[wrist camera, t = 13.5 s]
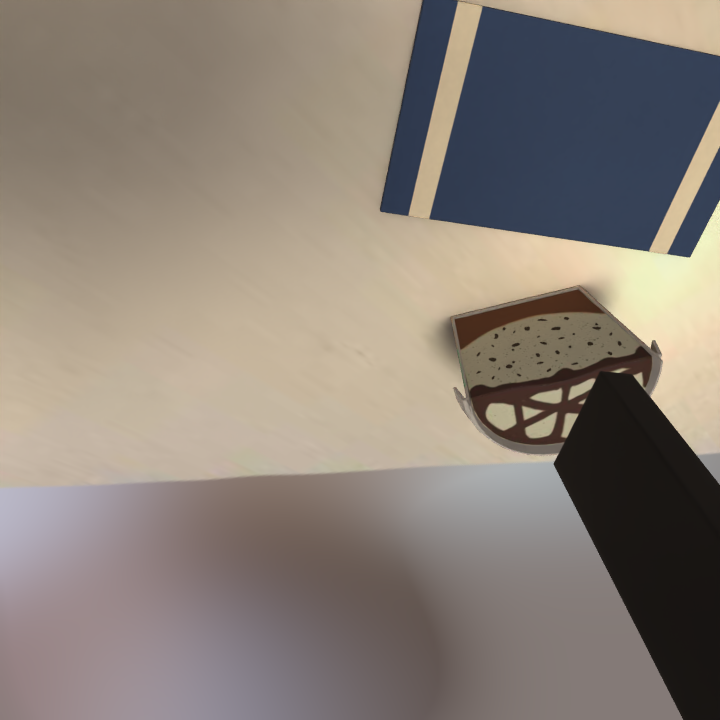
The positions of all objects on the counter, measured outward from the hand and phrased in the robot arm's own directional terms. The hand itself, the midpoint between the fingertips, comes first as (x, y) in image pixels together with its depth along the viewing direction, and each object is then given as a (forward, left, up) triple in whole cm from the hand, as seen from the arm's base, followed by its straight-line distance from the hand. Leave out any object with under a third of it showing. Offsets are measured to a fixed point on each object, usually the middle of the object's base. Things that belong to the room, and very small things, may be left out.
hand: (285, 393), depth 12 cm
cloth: (+17, +1, -27) cm, 32 cm away
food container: (+18, -13, -28) cm, 36 cm away
